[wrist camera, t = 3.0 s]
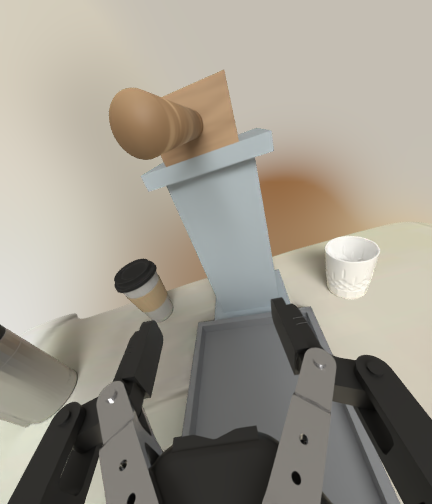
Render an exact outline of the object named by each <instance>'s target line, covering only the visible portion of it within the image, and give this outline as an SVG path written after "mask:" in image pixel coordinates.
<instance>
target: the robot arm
mask: <svg viewBox="0 0 432 504" xmlns="http://www.w3.org/2000/svg"><path fill="white" fill-rule="evenodd" d="M271 314H272V319H273V323H274V325H275V328H276V331H277V333H278V336H279V338H280V341H281V343H282V346H283V348H284V351H285V353H286V356H287V358H288V361H289V363H290V366H291V368H292V371H293V373H294V375H299V378H298V382H297V385H296V389H295V392H294V393H293V395H292V398H291V402H290V405H289V409H288V413H287V416H286V420H285V424H284V428H283V431H282V435H281V439H280V442H279V441H278V440H276V439H275V438H273V437H272V436H270V435H268V434H265V433H263V432H258V430H257V425H255V426H249V427H242V428H236V429H234V430H232V431H230V432H228V433H226V434H224V435H222V436H221V437H219V438H217V439H210V438H206V437H202V436H197V435H189V436H182V437H175V438H174V440H173V445H172V446H171V447H169V448H168V449H167V450H165V451H164V452H163V451H162V449H161V447H160V445H159V444H158V442H157V440H156V438H155V436H154V434H153V431H152V429H151V426H150V423H149V421H148V418H147V416H146V413H145V411H144V408H143V406H142V404H143V400H144V399H146V398H151V395H152V390H153V386H154V381H155V377H156V372H157V368H158V363H159V359H160V354H161V350H162V345H163V335H162V333H161V331H160V329H159V327H158V325H157V323H156V321H155V320H152V321H147V322H143V323H142V324H141V327H140V330H139V331H137V332H135V333H134V335H133V336H132V337H131V339H130V341H129V343H128V346H127V348H126V351H125V353H124V355H123V358H122V360H121V363H120V365H119V368H118V370H117V373H116V375H115V378H114V380H113V382H112V383H110V384H109V385H107V386H106V387H105V388H104V389H103V391H102V392H101V393H100V395H99V397H97V398H95V399H93V400H91V401H89V402H87V403H85V404H83V405H80V404H79V403H78V402H72V403H69V404H67V405H66V406H64V407H63V408H62V409H61V410H60V411H59V412H58V413H57V414H56V415H55V416H54V418H53V419H52V421H51V423H50V425H49V427H48V429H47V430H46V432H45V434H44V436H43V438H42V440H41V442H40V444H39V445H38V447H37V449H36V451H35V453H34V455H33V457H32V459H31V460H30V462H29V464H28V466H27V468H26V470H25V472H24V474H23V476H22V477H21V479H20V481H19V483H18V485H17V487H16V489H15V491H14V492H13V494H12V496H11V498H10V500H9V502H8V504H84V503H85V500H86V496H87V493H88V490H89V487H90V484H91V480H92V477H93V474H94V471H95V468H96V464H97V461H98V458H100V465H101V471H102V478H103V484H104V491H105V497H106V504H333V503H332V502H331V501H330V500H329V499H328V497H327V496H326V495H325V494H324V493H323V492H322V487H323V478H324V470H325V462H326V454H327V446H328V437H329V429H330V421H331V407H332V401H333V402H338V403H342V404H347V405H351V406H353V408H354V410H355V412H356V413H357V415H358V417H359V419H360V421H361V423H362V425H363V427H364V429H365V431H366V433H367V434H368V436H369V438H370V440H371V442H372V444H373V446H374V448H375V450H376V452H377V454H378V455H379V457H380V459H381V461H382V463H383V465H384V467H385V469H386V471H387V473H388V475H389V476H390V478H391V480H392V482H393V484H394V486H395V488H396V490H397V492H398V494H399V496H400V497H401V499H402V501H403V503H404V504H432V419H431V418H430V417H429V416H428V414H427V413H426V412H425V411H424V409H423V408H422V407H421V405H420V404H419V403H418V402H417V400H416V399H415V398H414V397H413V395H412V394H411V393H410V392H409V390H408V389H407V388H406V387H405V385H404V384H403V383H402V381H401V380H400V379H399V378H398V376H397V375H396V374H395V373H394V371H393V370H392V369H391V368H390V367H389V365H387V364H386V363H385V362H384V361H382V360H381V359H379V358H377V357H374V356H371V355H362V356H359V357H358V358H357V360H350V359H344V358H339V357H335V356H333V355H331V354H329V353H328V352H327V351H325V350H324V349H323V348H322V346H321V345H320V343H319V341H318V340H317V338H316V336H315V335H314V333H313V331H312V330H311V328H310V326H309V325H308V323H307V321H306V320H305V318H304V317H303V315H302V313H301V311H300V310H299V309H298V308H297V307H296V306H295V305H293V304H287V305H286V303H285V301H284V299H283V298H282V297H279V298H274V299H271ZM76 380H77V374H76V372H75V371H74V370H72V369H71V368H69V367H68V366H66V365H64V364H63V363H61V362H60V361H58V360H56V359H55V358H53V357H52V356H50V355H48V354H47V353H45V352H44V351H42V350H40V349H39V348H37V347H35V346H34V345H32V344H31V343H29V342H27V341H26V340H24V339H23V338H21V337H19V336H18V335H16V334H14V333H13V332H11V331H10V330H8V329H6V328H5V327H3V326H1V325H0V419H1V420H4V421H7V422H11V423H14V424H17V425H20V426H23V427H27V426H29V425H30V424H37V423H40V422H43V421H45V420H46V419H48V418H49V417H51V416H52V415H53V414H54V413H55V412H57V411H58V410H59V409H60V407H61V406H62V405H63V404H64V403H65V402H66V400H67V399H68V398H69V396H70V394H71V393H72V391H73V389H74V387H75V384H76ZM102 445H103V446H102ZM71 450H72V451H71ZM70 452H71V453H70ZM68 457H69V458H68ZM66 462H67V463H66ZM65 464H66V465H65ZM64 467H65V468H64ZM63 469H64V470H63ZM61 474H62V475H61Z"/></svg>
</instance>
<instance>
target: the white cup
mask: <svg viewBox="0 0 432 504" xmlns="http://www.w3.org/2000/svg"><path fill="white" fill-rule="evenodd" d="M379 253H380V248H379V246H378V245H377V244H376V243H375V242H373V241H371V240H369V239H366V238H363V237H358V236H342V237H338V238H334V239H332V240H330V241H329V242H328V243H327V244H326V245H325V267H326V276H327V287H328V289H329V290H330V292H331V293H333V294H334V295H336V296H338V297H341V298H344V299H357V298H360V297H363V296H364V294H365V293H366V292H367V290H368V286H369V284H370V281H371V278H372V276H373V273H374V270H375V266H376V263H377V260H378V256H379Z"/></svg>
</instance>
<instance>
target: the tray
mask: <svg viewBox="0 0 432 504" xmlns="http://www.w3.org/2000/svg"><path fill="white" fill-rule="evenodd" d="M298 309H299V310H300V311H301V313H302V315H303V317H304V318H305V320H306V321H307V323H308V325H309V326H310V328H311V330H312V331H313V333H314V335H315V336H316V338H317V340H318V341H319V343H320V345H321V346H322V348H323V349H324V350H325V351H327V352H328V353H329V354H331V355H333V354H332V352H331V350H330V348H329V346H328V343H327V341H326V339H325V337H324V335H323V332H322V330H321V328H320V326H319V324H318V321H317V319H316V317H315V315H314V313H313V310H312V308H311V306H310V307H303V308H298ZM298 378H299V375H294V373H293V371H292V368H291V366H290V363H289V361H288V358H287V356H286V353H285V351H284V348H283V346H282V343H281V341H280V338H279V336H278V333H277V331H276V328H275V325H274V323H273V319H272V314H271V312H268V313H261V314H254V315H247V316H240V317H233V318H227V319H220V320H213V321H206V322H199V323H198V329H197V336H196V343H195V350H194V357H193V363H192V370H191V377H190V384H189V391H188V397H187V404H186V411H185V418H184V425H183V431H182V436H189V435H197V436H202V437H206V438H210V439H217V438H219V437H221V436H222V435H224V434H226V433H228V432H230V431H232V430H234V429H236V428H242V427H249V426H255V425H257V430H258V432H263V433H265V434H268V435H270V436H272V437H273V438H275V439H276V440H278V441H279V442H280V439H281V435H282V431H283V428H284V424H285V420H286V416H287V413H288V409H289V405H290V402H291V398H292V395H293V393H294V392H295V389H296V385H297V382H298ZM322 492H323V493H324V494H325V495H326V496H327V497H328V499H329V500H330V501H331V502H332V503H333V504H400V502H399V500H398V498H397V496H396V493H395V491H394V489H393V487H392V485H391V482H390V480H389V478H388V476H387V474H386V471H385V469H384V467H383V465H382V463H381V460H380V458H379V456H378V454H377V452H376V450H375V448H374V446H373V444H372V442H371V440H370V438H369V436H368V434H367V433H366V431H365V429H364V427H363V425H362V423H361V421H360V419H359V417H358V415H357V413H356V412H355V410H354V408H353V406H351V405H347V404H342V403H338V402H333V401H332V407H331V421H330V429H329V437H328V446H327V454H326V462H325V470H324V478H323V487H322Z"/></svg>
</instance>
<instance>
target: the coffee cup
mask: <svg viewBox="0 0 432 504" xmlns="http://www.w3.org/2000/svg"><path fill="white" fill-rule="evenodd" d="M114 281H115V288H116V290H117V291H118V292H120V293H124V294H125V295H126V297H127V298H128V299H129V300H130V301H131V302H132V303H133V304H135V305H136V306H137V307H138V308H139V309H140V310H141V311H142V312H144V313H145V314H147V315H148V316H149V317H150V318H151V319H152V320H155V321H156V322H161V321H164V320H166V319H167V318H168V317H169V316H170V315H171V313H172V311H173V305H172V303H171V301H170V299H169V297H168V295H167V291H166V289H165V287H164V285H163V283H162V281H161V279H160V277H159V275H158V274H157V272H156V265H155V264H154V263H153V262H151V261H148V260H147V259H138V260H135V261H133V262H131V263H129V264H127V265H126V266H124V267H123V268H122V269H121V270H120V271H119V272H118V273H117V274H116V276H115V278H114Z"/></svg>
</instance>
